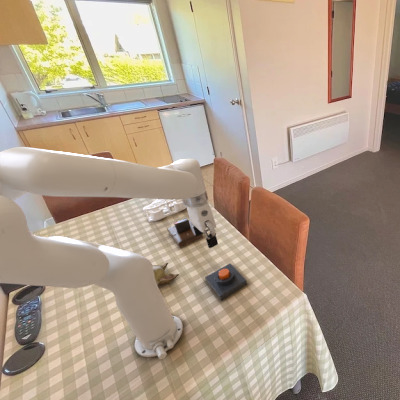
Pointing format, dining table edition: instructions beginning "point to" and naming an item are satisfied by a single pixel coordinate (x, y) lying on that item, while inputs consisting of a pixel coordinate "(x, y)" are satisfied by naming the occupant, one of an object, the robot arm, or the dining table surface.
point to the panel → (184, 236)
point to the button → (224, 274)
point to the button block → (226, 282)
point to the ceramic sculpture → (162, 274)
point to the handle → (182, 225)
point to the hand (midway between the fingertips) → (206, 240)
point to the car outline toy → (162, 209)
